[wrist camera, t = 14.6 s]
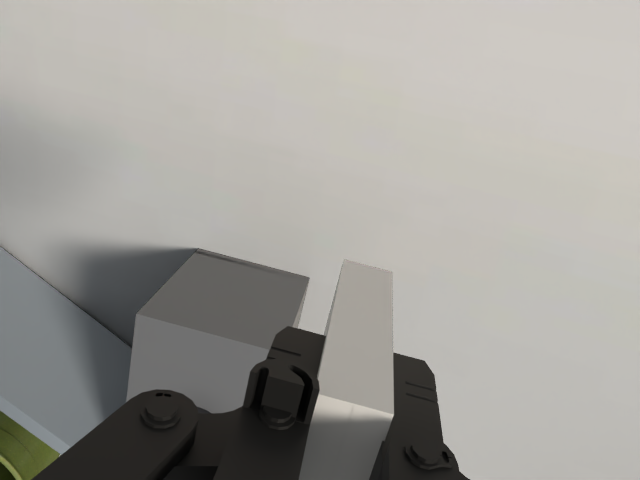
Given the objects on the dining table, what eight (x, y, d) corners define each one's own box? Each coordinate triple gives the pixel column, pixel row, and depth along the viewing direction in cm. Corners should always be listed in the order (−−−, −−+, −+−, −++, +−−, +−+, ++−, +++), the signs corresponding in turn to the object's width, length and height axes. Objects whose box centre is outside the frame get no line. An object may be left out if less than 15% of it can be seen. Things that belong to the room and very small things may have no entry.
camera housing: (309, 277, 45) (278, 367, 32) (278, 406, 50) (240, 527, 38) (198, 248, 45) (124, 325, 33) (178, 379, 51) (107, 489, 38)
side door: (-14, 235, 47) (-139, 293, 36) (176, 382, 50) (115, 478, 39) (-23, 249, 48) (-149, 310, 37) (165, 394, 51) (102, 491, 40)
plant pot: (102, 371, 51) (29, 454, 41) (99, 463, 56) (31, 560, 45) (-11, 344, 52) (-113, 419, 42) (-7, 437, 56) (-97, 527, 46)
